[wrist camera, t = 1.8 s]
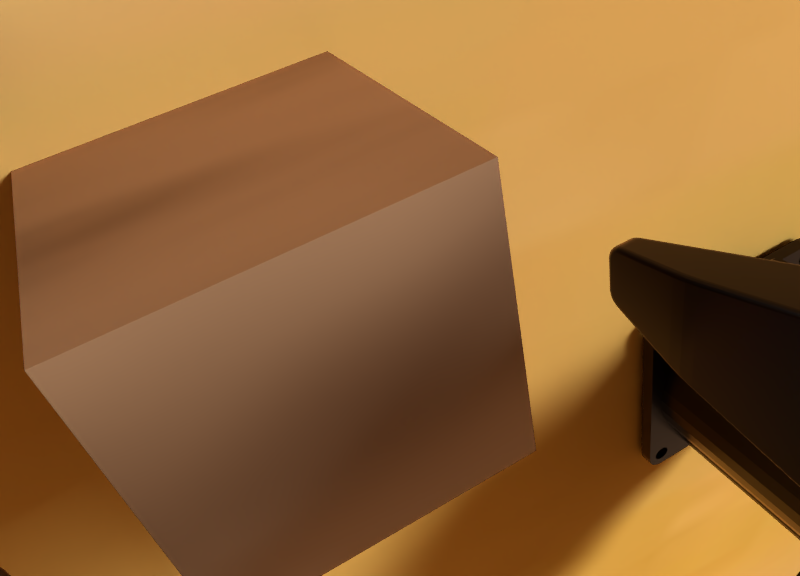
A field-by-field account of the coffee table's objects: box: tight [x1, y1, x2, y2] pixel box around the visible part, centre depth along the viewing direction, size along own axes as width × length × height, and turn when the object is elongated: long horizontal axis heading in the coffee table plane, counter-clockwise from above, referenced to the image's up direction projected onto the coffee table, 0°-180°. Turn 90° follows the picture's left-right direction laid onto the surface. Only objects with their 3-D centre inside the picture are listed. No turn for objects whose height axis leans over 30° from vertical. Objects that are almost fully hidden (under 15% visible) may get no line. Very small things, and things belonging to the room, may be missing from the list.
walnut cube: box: [11, 51, 536, 576], centre depth 11 cm, size 6×6×6 cm
